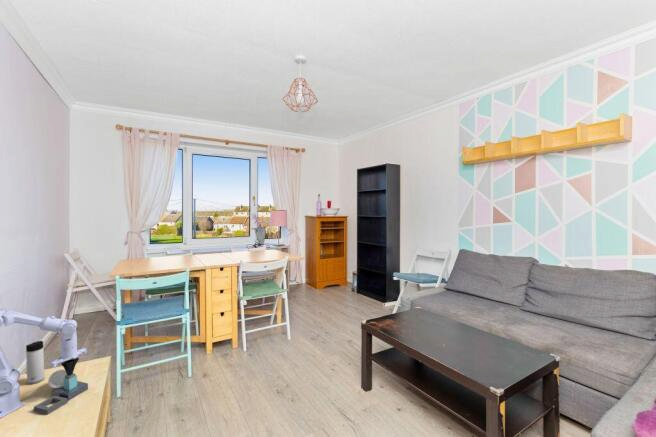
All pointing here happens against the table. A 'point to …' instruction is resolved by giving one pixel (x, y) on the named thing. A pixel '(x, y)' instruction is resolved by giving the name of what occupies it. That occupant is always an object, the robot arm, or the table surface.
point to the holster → (47, 410)
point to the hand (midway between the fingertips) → (69, 374)
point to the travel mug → (35, 362)
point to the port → (70, 391)
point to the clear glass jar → (57, 379)
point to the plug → (70, 382)
